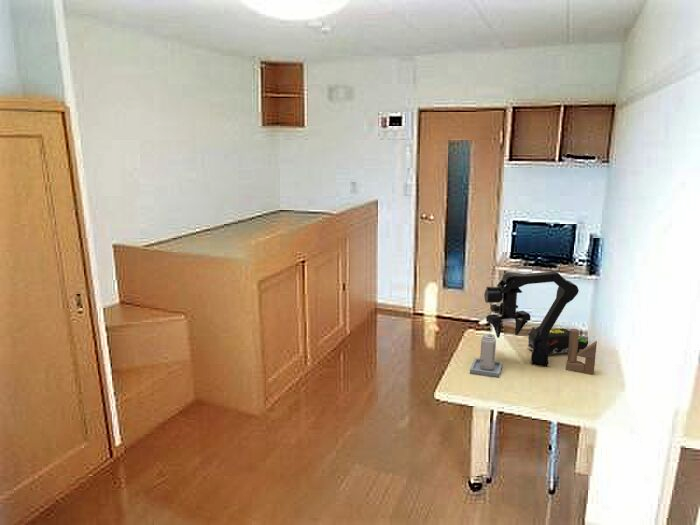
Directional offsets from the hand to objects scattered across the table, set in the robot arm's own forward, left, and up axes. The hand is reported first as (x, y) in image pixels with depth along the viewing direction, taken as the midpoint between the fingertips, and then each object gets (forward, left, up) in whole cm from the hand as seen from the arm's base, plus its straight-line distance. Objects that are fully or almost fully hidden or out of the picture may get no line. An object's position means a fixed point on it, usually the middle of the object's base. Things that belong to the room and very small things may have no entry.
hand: (507, 336), depth 224 cm
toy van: (-20, -23, -14) cm, 33 cm away
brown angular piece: (-30, -4, -13) cm, 33 cm away
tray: (+7, +9, -13) cm, 17 cm away
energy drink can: (+7, +9, -13) cm, 17 cm away
